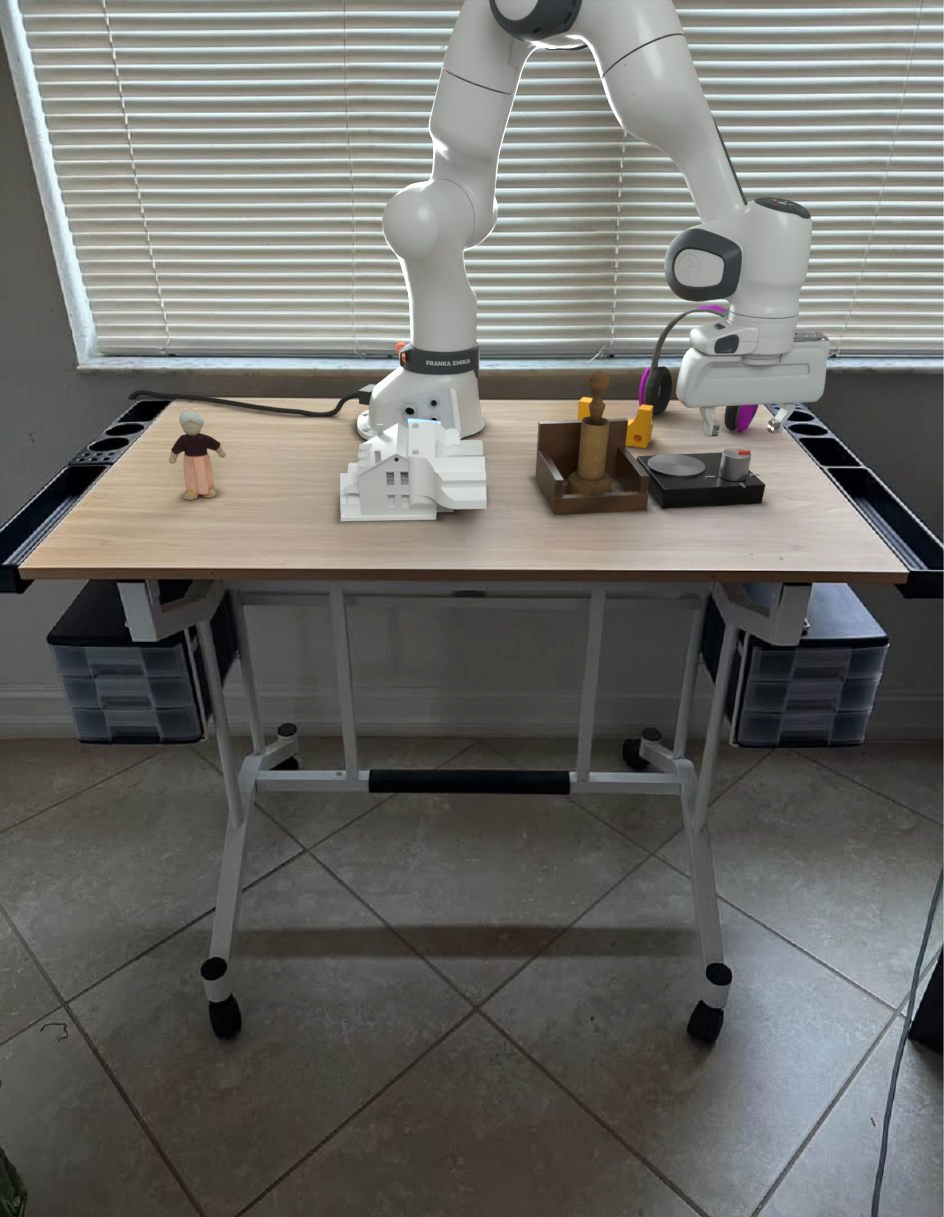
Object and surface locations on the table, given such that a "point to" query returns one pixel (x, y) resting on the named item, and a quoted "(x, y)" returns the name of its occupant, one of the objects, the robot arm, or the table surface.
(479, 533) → the table surface
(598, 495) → the spice rack
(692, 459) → the burner
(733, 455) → the hob knob
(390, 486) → the house model
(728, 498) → the hob
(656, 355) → the headphones
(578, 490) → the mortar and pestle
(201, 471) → the grandmother figurine
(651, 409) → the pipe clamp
